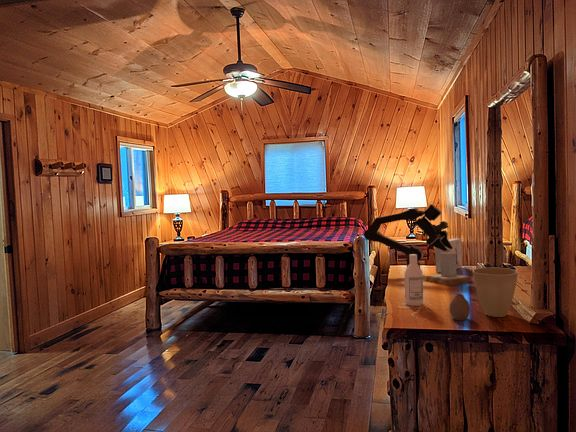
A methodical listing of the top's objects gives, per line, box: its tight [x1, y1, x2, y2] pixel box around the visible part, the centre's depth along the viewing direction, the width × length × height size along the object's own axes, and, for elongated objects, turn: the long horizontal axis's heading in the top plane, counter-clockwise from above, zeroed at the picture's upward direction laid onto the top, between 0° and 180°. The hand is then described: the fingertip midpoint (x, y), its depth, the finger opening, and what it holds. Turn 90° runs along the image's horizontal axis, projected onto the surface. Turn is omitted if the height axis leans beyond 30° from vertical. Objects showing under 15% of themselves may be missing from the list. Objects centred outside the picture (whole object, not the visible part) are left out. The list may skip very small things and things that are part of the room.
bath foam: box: [404, 254, 424, 307], centre depth 189 cm, size 7×7×20 cm
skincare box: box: [434, 238, 463, 273], centre depth 255 cm, size 21×6×16 cm, turn 134°
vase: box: [448, 293, 471, 321], centre depth 168 cm, size 7×7×9 cm
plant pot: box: [472, 267, 519, 318], centre depth 171 cm, size 15×15×16 cm
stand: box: [426, 273, 472, 287], centre depth 228 cm, size 14×14×3 cm
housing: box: [440, 250, 458, 277], centre depth 227 cm, size 5×5×12 cm
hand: (449, 249), depth 237 cm, fingers open, 8 cm apart
